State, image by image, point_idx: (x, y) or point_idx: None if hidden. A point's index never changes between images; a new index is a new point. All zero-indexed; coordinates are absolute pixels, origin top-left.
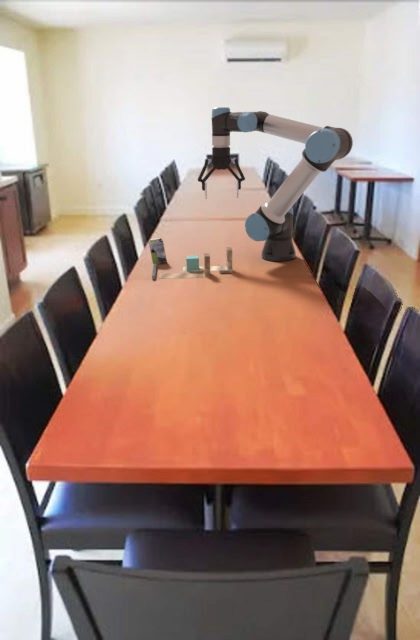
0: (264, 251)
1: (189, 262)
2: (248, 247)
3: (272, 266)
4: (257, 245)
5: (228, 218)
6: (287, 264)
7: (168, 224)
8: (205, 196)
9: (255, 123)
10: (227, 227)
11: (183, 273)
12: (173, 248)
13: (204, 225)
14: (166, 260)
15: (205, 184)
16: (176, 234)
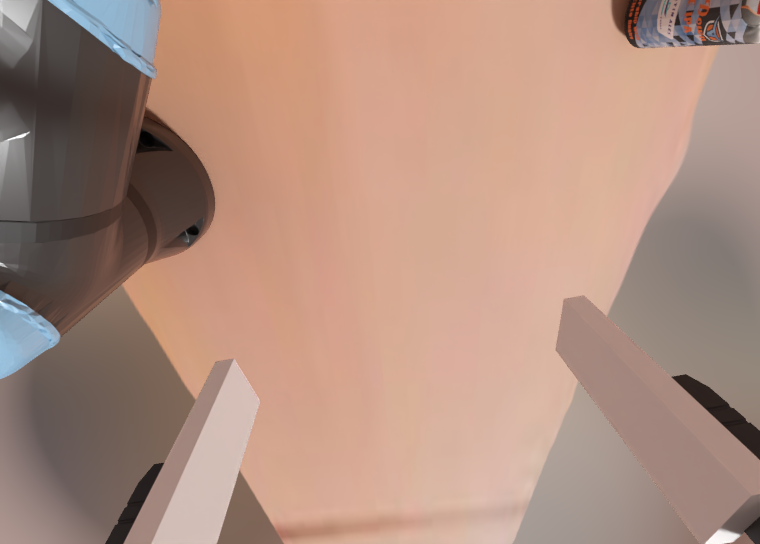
0: (174, 160)
1: None
2: (295, 315)
3: None
4: (270, 339)
5: (387, 529)
6: None
7: (524, 486)
8: (597, 311)
9: None
10: (383, 478)
11: None
12: (542, 291)
13: (440, 487)
14: (637, 2)
15: (749, 463)
16: (514, 421)
